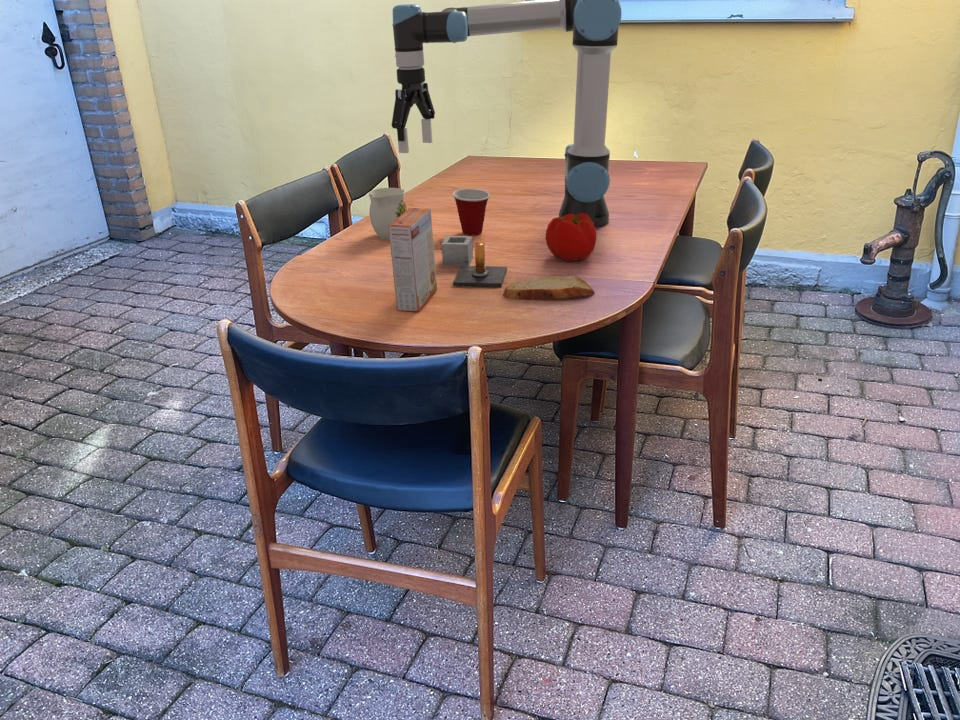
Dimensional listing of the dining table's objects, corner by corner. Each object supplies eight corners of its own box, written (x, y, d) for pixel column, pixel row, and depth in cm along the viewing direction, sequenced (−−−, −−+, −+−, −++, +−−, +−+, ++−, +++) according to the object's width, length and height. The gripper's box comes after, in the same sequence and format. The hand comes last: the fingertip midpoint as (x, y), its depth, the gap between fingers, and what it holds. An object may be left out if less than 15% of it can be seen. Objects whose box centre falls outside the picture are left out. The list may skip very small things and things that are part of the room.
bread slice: (496, 296, 195) (495, 282, 194) (545, 276, 206) (545, 262, 205) (552, 316, 184) (552, 300, 182) (601, 293, 195) (602, 278, 193)
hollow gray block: (473, 257, 220) (472, 236, 217) (468, 266, 214) (467, 244, 211) (447, 256, 221) (446, 235, 218) (442, 265, 215) (441, 244, 212)
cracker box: (414, 289, 200) (408, 206, 191) (438, 291, 199) (432, 207, 189) (394, 311, 188) (386, 224, 179) (419, 313, 187) (412, 225, 177)
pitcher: (419, 226, 246) (416, 182, 240) (397, 245, 231) (393, 198, 225) (386, 225, 250) (382, 180, 243) (362, 243, 234) (357, 196, 228)
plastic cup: (479, 240, 233) (478, 199, 227) (447, 235, 238) (445, 195, 232) (497, 229, 241) (496, 190, 236) (466, 225, 246) (464, 186, 241)
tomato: (567, 269, 209) (568, 225, 203) (535, 255, 220) (535, 213, 214) (607, 259, 215) (609, 216, 210) (574, 245, 226) (575, 204, 220)
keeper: (507, 270, 210) (506, 236, 206) (501, 287, 199) (500, 252, 195) (461, 269, 212) (459, 236, 208) (453, 286, 201) (451, 251, 197)
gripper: (420, 61, 228) (425, 138, 238) (373, 73, 208) (381, 156, 217) (444, 61, 225) (448, 139, 235) (399, 73, 205) (405, 158, 215)
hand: (416, 147), depth 226 cm, fingers open, 13 cm apart
